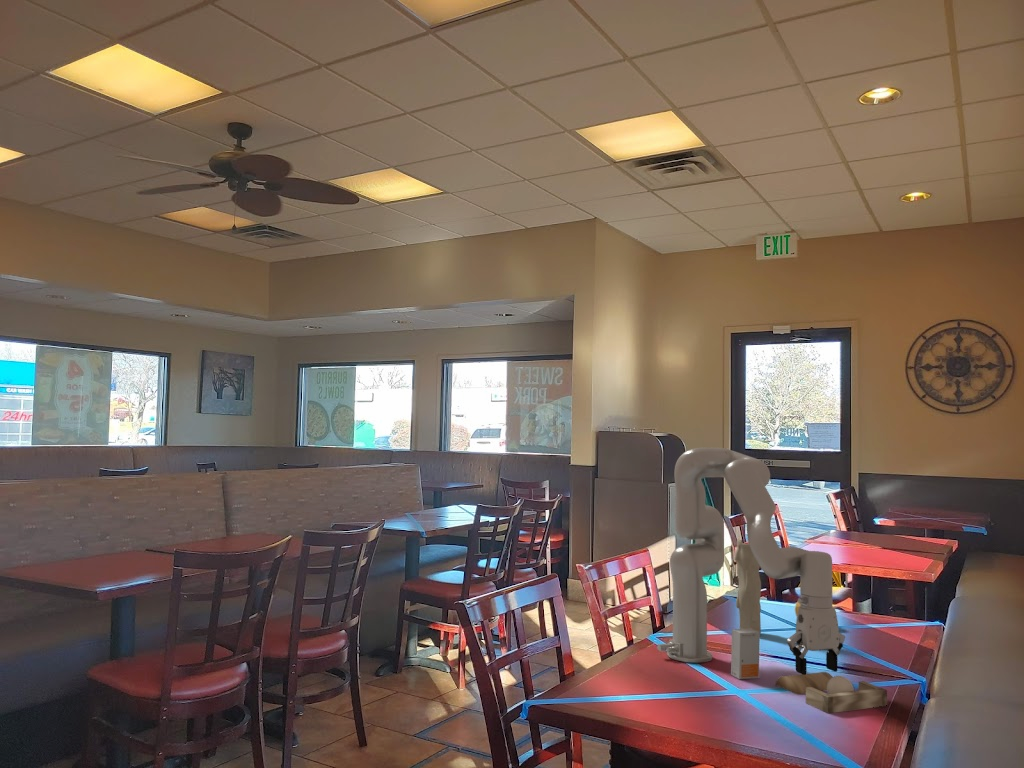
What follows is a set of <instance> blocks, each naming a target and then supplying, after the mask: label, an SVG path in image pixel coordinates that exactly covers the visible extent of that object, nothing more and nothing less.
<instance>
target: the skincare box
mask: <svg viewBox="0 0 1024 768" xmlns="http://www.w3.org/2000/svg"><path fill="white" fill-rule="evenodd" d="M760 636H761V633H760V632H758V631H756V630H753V629H751V628H750V629H739V628H735V629H734V628H732V629H731V650H730V651H731V653H730V655H731V657H730V659H731V661H730V665H731V666H730V668H731V669H730V674H731V676H733V677H735V678H736V679H738V680H749V679H760V641H761V640H760Z"/></svg>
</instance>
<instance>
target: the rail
mask: <svg viewBox="0 0 1024 768" xmlns="http://www.w3.org/2000/svg"><path fill="white" fill-rule="evenodd" d="M805 704H807V705H810V706H811V707H814V708H816V709H817V710H820V711H822V712H824V713H826V714H834V713H840V712H848V711H857V710H864V709H874V708H880V707H879V706H882V707H887V706H888V690H887V689H884V688H883V687H880V686H877V685H875V684H872V683H870V682H868V681H865V680H862V681H861V680H860V681H858V690H856V691H855V690H854V691H853V692H844V693H836V694H828V693H826V692H825V691H819V690H817V689H815V688H813V687H806V693H805ZM886 705H887V706H886ZM873 707H874V708H873Z"/></svg>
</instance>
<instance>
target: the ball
mask: <svg viewBox="0 0 1024 768" xmlns="http://www.w3.org/2000/svg"><path fill="white" fill-rule="evenodd" d="M853 691H855V690H854V686H853V684H852V682H851V681H850V680H849V679H848V678H846V677H845V676H842V675H836V676H832V678H831V679H830V680H829V681H828V683H827V691H826V692H827V694H836V693H844V692H853Z"/></svg>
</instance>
